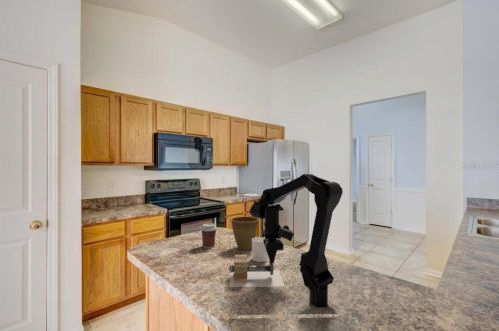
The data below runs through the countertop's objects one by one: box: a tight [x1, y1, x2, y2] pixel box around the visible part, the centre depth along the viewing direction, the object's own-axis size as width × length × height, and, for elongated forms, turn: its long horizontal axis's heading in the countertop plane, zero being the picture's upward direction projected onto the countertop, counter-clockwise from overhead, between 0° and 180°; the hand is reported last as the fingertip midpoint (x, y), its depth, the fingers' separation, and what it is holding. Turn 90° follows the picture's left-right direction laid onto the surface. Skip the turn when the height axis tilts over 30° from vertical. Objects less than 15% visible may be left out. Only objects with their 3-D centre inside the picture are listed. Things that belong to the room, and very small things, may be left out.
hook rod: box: [228, 258, 275, 275], centre depth 92 cm, size 5×18×9 cm, turn 92°
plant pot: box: [230, 216, 259, 251], centre depth 129 cm, size 15×15×16 cm
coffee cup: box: [200, 223, 218, 249], centre depth 131 cm, size 9×9×12 cm
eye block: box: [233, 254, 248, 283], centre depth 92 cm, size 8×5×8 cm, turn 2°
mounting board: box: [228, 269, 286, 288], centre depth 92 cm, size 14×20×1 cm
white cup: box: [251, 236, 268, 263], centre depth 111 cm, size 8×8×10 cm
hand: (271, 261), depth 92 cm, fingers open, 4 cm apart
